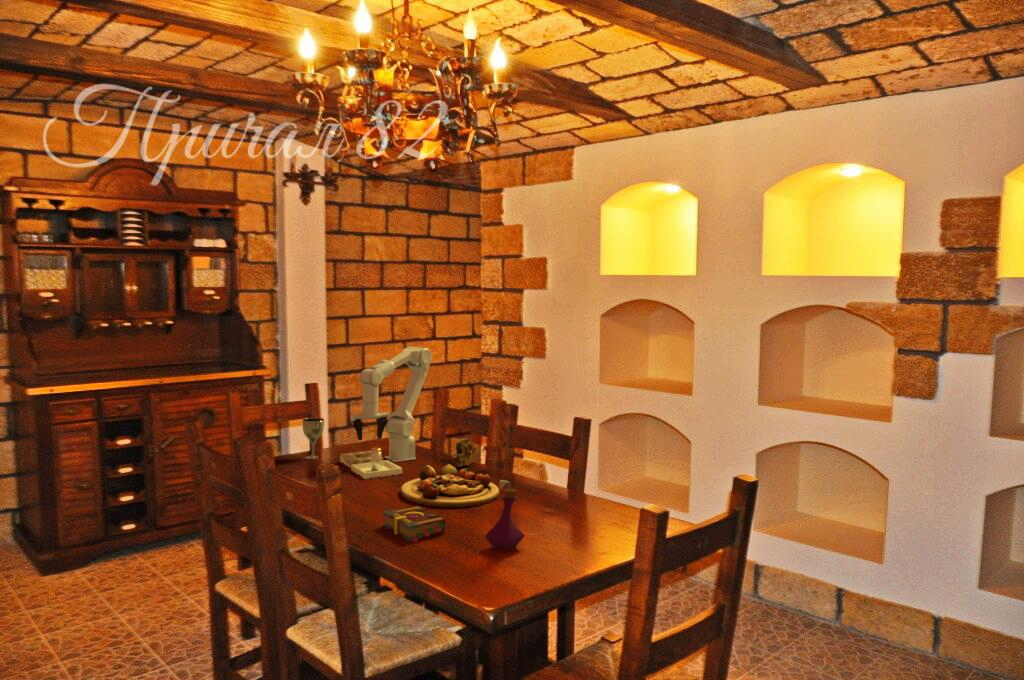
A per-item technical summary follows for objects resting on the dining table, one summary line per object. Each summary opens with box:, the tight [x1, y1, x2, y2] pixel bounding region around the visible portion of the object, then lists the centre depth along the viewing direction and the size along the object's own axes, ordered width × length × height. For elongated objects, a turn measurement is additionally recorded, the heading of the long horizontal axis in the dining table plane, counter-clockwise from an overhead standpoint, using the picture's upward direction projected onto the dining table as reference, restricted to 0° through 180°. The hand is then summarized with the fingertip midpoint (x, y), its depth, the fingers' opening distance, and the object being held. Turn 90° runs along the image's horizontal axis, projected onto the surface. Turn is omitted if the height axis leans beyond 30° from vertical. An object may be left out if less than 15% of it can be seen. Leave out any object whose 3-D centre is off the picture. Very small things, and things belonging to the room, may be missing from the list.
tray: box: [350, 459, 403, 480], centre depth 260 cm, size 14×13×2 cm
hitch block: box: [339, 450, 384, 469], centre depth 272 cm, size 12×12×3 cm
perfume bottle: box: [484, 479, 525, 552], centre depth 190 cm, size 8×8×18 cm
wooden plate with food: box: [400, 463, 500, 508], centre depth 237 cm, size 32×32×8 cm
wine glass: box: [301, 417, 325, 459], centre depth 277 cm, size 8×8×15 cm
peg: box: [370, 447, 383, 472], centre depth 260 cm, size 4×4×8 cm
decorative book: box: [382, 505, 446, 543], centre depth 202 cm, size 11×16×5 cm
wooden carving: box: [452, 438, 478, 468], centre depth 273 cm, size 16×5×10 cm, turn 162°
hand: (369, 438), depth 267 cm, fingers open, 7 cm apart
